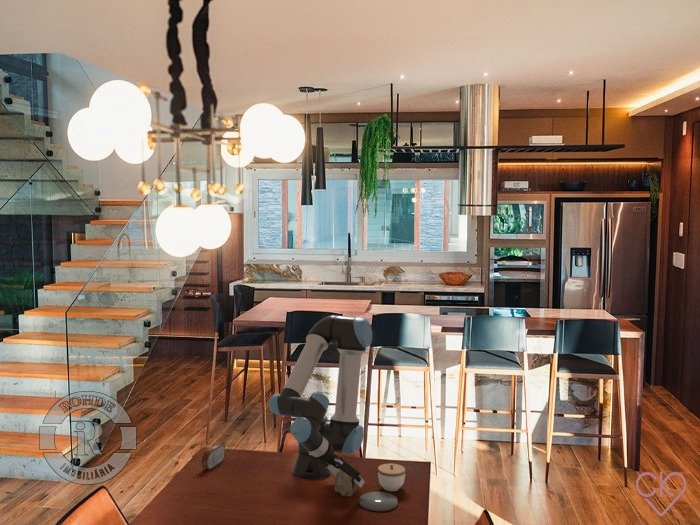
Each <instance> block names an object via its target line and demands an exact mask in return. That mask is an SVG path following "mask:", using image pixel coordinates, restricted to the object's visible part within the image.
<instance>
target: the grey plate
mask: <svg viewBox="0 0 700 525" xmlns="http://www.w3.org/2000/svg"><path fill="white" fill-rule="evenodd" d="M398 501H399V500H398V498H397V496H395V495H394V494H391V493H388V492H383V491H371V492H366V493H363V494H361V495H360V497H359V501H358V502H359V505H360V506H361V507H362V508H364V509H365V510H368V511H373V512H388V511H392V510H394V509H396V507H397V506H398V504H399V502H398Z"/></svg>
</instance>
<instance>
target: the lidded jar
mask: <svg viewBox="0 0 700 525" xmlns="http://www.w3.org/2000/svg"><path fill="white" fill-rule="evenodd" d="M377 478H378V482H379V484H380V485H381V487H382V488H383V490H385V491H387V492H396V491H398V490H399V489H401V487H402V486H403V485H404V483H405V478H406V468H405V467H404V466H403V465H401V464H397V463H384V464H383V463H382V464H380V465H379V466H378V467H377Z"/></svg>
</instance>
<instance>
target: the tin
mask: <svg viewBox="0 0 700 525" xmlns="http://www.w3.org/2000/svg"><path fill="white" fill-rule="evenodd" d="M225 456H226V446H225V444H223V443H220V442H216V443H215V444H214V445H212V446H210V447H208V448H207V449H205V451H204V452H203V455H202V458H201V466H202V469H205V470H212V469H213V468H215V467H217V466H218V465H220V464H221V463H222V462H223V461H224V458H225Z"/></svg>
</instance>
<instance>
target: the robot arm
mask: <svg viewBox="0 0 700 525" xmlns="http://www.w3.org/2000/svg"><path fill="white" fill-rule="evenodd" d="M305 341H306V342H305V345H304V347H303V349H301V350H302V351H301V352H300V355H299V357H298V359H297V361H296V363H295V365H294V366H293V368H292V371H291V373H290V374H289V376H288V379H287V380H286V383H285V384H284V386H283V389H282V390H281V391H280V393H273V395H271V397H270V398H269V401H268V408H269V411H270V412H271V413H272V414H275V415H278V416H282V417H283V416H284V417H290V418H291V417H292V418H296V419H294V422H292V423H291V425H290V429H289V432H290V434H291V436H292V437H293V438H294V439H295V441H296V442H297V457H296V460H295V462H294V465H293V469H292V470H293V472H292V473H293V475H294V476H295V477H298V478H301V479H305V480H318V479H323V478H326V477H328V476H330V474H333V475H334V476H335V477H336V475H337V473H338V472H339V471H340V470H342V471H343V472H345V473H346V474H347V475H349V476H350V477H351V479H352V481H354V482H355V483H356V484H357V486H358V487H359V488H362V487H363V485H364V484H365V482H366V481H365V480H364V479H363V478H362V476H361V472H360V471H358V470H356V469H355V468H354V467H353V466H351V465H350V464H349V463H348V462H346V460H344V459H343V458H342V457H338V454H342V455H351V456H352V455H355V454H356V453H357V452H358V451H359V449H360V448H361V446H362V444H363V440H364V436H365V429H364V427H363V426H362V425H360V419H359V417H358V415H357V410H358V397H359V387H360V386H359V385H360V376H361V364H362V356H363V355H364V353H366V350H367V349H366V348H369V347H370V346H371V344H372V341H373V329H372V326H371V323H370V322H369V320H368V319H367V318H366V317H365V318H364V317H358V316H349V315H348V316H347V315H346V316H345V315H338V314H337V315H335V314H332V315H328V316H325V317H323V318H322V319H320V320H319V321H317V322H316V323H315V324H314V325H313V327H311V329H310V330H309V331H308V333H307V335H306V337H305ZM332 344H333V345H336V350H337V351H338V353H339V362H338V364H339V365H338V375H337V386H336V398H335V407H334V414H333V415H332V416H330V419H329V420H328V416H327V415H326V414H327V412H328V408H329V406H330V400H329V398H328V396H326V395H325V394H323V393H322V392H321V393H320V392H316V391H315V392H312V393H311V395H310V396H309V397H302V396H303V393H304V392H305V389H306V387H307V385H308V384H309V381H310V379H311V377H312V376H313V372H314V371H315V368H316V366H317V364H318V362H319V360H320V359H321V356H322V354H323V352H324V351H326V350H327V349H328V348H329V347H330V345H332ZM335 453H337V455H336V454H335Z"/></svg>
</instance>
